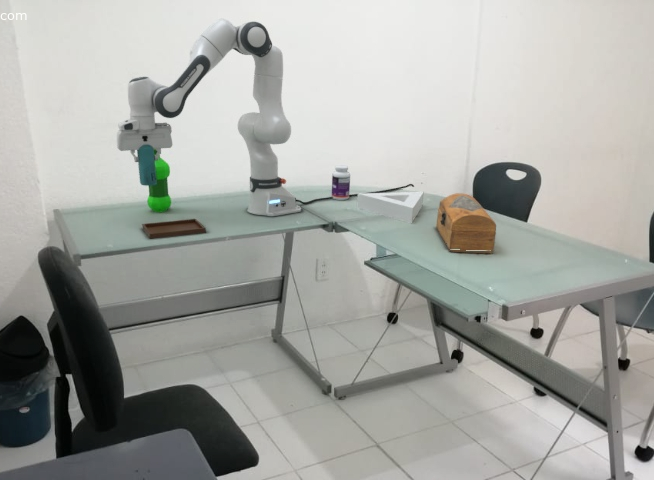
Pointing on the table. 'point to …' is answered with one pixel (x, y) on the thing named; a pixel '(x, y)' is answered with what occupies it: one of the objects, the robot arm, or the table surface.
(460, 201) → the wooden box
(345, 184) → the pill bottle
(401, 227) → the table surface
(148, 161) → the beverage bottle
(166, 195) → the plastic bottle
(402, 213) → the triangle block
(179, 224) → the tray
